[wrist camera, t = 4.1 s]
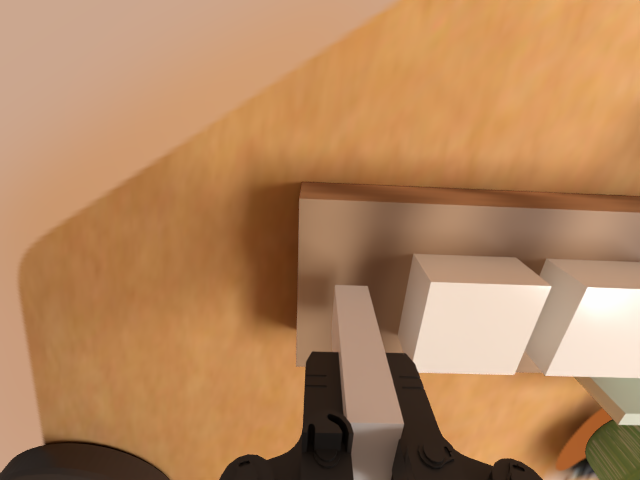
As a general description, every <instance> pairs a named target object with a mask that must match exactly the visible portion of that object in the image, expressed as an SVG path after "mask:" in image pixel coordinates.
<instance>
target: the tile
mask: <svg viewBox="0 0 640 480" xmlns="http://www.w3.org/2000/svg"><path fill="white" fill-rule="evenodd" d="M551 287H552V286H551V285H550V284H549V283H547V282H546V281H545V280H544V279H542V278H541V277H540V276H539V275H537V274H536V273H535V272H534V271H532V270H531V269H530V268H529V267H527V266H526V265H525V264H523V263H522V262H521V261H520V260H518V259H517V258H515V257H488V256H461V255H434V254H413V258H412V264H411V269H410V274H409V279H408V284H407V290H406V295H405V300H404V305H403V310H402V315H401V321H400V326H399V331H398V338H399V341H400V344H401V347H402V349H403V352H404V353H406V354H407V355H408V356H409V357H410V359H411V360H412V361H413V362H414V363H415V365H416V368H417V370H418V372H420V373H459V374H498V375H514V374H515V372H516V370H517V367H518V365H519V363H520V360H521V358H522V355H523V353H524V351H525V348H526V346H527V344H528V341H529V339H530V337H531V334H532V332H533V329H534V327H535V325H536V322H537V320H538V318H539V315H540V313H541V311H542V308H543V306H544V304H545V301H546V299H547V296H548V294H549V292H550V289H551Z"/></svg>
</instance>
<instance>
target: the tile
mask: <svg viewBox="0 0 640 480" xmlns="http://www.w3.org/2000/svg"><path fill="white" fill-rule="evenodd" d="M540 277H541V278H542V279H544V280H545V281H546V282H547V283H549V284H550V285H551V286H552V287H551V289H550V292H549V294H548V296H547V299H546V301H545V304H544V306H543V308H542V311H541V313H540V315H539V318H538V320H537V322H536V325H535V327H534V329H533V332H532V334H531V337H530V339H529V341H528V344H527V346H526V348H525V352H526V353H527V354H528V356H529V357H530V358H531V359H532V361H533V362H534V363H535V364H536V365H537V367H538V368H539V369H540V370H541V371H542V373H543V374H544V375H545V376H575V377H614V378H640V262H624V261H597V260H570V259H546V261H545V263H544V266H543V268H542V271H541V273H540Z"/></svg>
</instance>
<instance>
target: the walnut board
mask: <svg viewBox="0 0 640 480" xmlns="http://www.w3.org/2000/svg"><path fill="white" fill-rule="evenodd" d="M413 254H434V255H461V256H488V257H515V258H517V259H518V260H520V261H521V262H522V263H523V264H525V265H526V266H527V267H529V268H530V269H531V270H532V271H534V272H535V273H536V274H537V275H539V276H540V273H541V271H542V268H543V266H544V263H545V261H546V259H570V260H597V261H624V262H640V196H619V195H596V194H573V193H550V192H527V191H503V190H480V189H457V188H434V187H411V186H388V185H364V184H341V183H318V182H302V186H301V191H300V197H299V239H298V291H297V344H296V367H306V361H307V359H308V357H309V356H310V354H311V352H312V351H316V352H333V350H332V332H331V331H332V318H333V304H334V291H335V285H352V286H368V289H369V293H370V297H371V301H372V304H373V308H374V312H375V316H376V319H377V323H378V327H379V331H380V335H381V338H382V342H383V346H384V350H385V353H404V352H403V349H402V347H401V344H400V341H399V338H398V331H399V326H400V321H401V315H402V310H403V305H404V300H405V295H406V290H407V284H408V279H409V274H410V269H411V264H412V258H413ZM516 372H526V373H542V371H541V370H540V369H539V368H538V367H537V365H536V364H535V363H534V362H533V361H532V359H531V358H530V357H529V356H528V354H527V353H526V352H525V351H524V353H523V355H522V358H521V360H520V363H519V365H518V367H517V370H516Z"/></svg>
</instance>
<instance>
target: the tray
mask: <svg viewBox="0 0 640 480" xmlns="http://www.w3.org/2000/svg"><path fill="white" fill-rule="evenodd" d="M573 377H574V378H575V379H576V380H577V381H578V382H579V383H580V384H581V385H582V386H583V387H584V388H585V390H586V391H587V392H588V393H589V394H590V395H591V396H592V397H593V398H594V399H595V400H596V401H597V402H598V404H599V405H600V406H601V407H602V408H603V409H604V410H605V411H606V412H607V413H608V414H609V415H610V416H611V417H612V419H613V420H614V421H615V422H616V423H617V424H618V425H640V378H614V377H575V376H573Z"/></svg>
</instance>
